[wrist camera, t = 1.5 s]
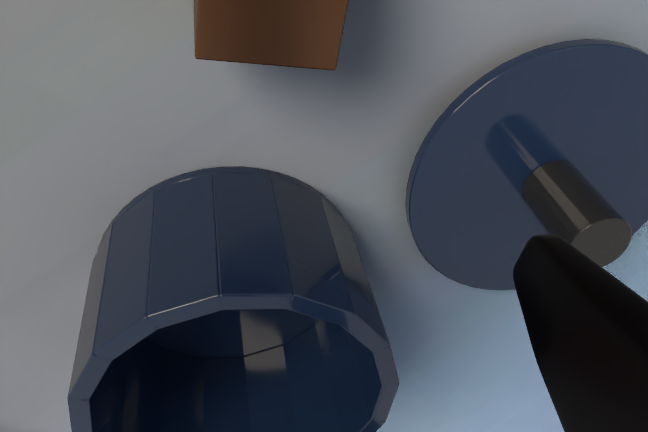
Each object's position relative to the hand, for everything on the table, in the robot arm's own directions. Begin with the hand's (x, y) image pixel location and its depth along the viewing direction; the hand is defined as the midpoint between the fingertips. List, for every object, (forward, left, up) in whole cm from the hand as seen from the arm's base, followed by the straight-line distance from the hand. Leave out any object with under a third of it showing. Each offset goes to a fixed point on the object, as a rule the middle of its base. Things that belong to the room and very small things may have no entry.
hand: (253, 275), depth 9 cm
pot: (-10, +8, -15) cm, 20 cm away
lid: (-15, -6, -14) cm, 21 cm away
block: (0, -2, -15) cm, 15 cm away
